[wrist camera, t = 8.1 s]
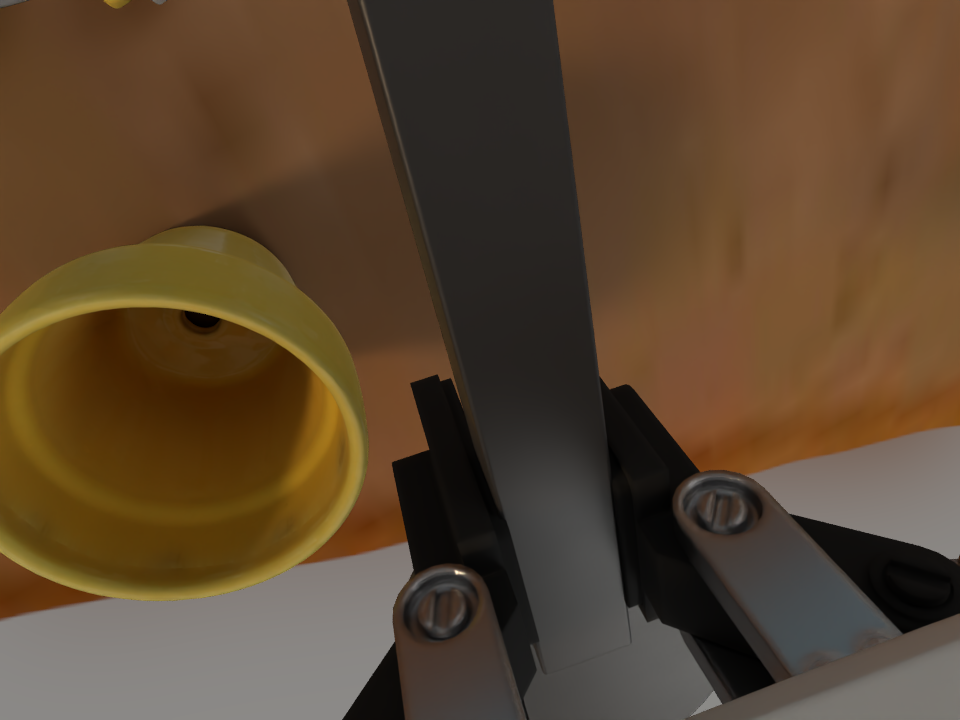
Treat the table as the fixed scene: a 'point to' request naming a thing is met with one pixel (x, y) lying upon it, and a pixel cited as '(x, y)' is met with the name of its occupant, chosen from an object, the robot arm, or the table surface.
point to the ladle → (522, 331)
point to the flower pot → (174, 420)
